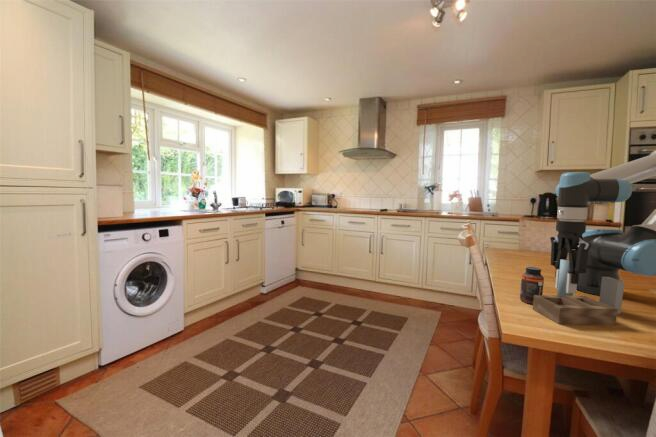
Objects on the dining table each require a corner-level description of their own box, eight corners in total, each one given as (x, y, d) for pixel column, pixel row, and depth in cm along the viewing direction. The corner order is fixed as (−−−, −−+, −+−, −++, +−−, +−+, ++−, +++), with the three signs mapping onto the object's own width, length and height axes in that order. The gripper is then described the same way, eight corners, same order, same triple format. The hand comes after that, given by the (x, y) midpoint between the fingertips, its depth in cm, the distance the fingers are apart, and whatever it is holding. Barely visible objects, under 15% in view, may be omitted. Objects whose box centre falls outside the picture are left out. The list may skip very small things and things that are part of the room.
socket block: (583, 310, 91) (585, 296, 91) (615, 324, 82) (617, 308, 81) (532, 309, 91) (533, 295, 91) (558, 323, 81) (560, 307, 81)
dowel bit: (565, 296, 101) (568, 259, 100) (575, 301, 97) (579, 261, 96) (554, 296, 101) (557, 259, 100) (563, 300, 97) (567, 261, 96)
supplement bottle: (545, 306, 94) (548, 271, 93) (524, 304, 95) (527, 269, 94) (536, 299, 100) (539, 266, 99) (516, 297, 101) (519, 265, 100)
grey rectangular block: (604, 307, 94) (608, 276, 93) (620, 314, 89) (624, 281, 88) (598, 307, 94) (602, 276, 93) (614, 314, 89) (617, 281, 88)
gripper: (540, 217, 105) (535, 282, 107) (582, 222, 88) (575, 299, 91) (561, 218, 105) (556, 282, 108) (607, 223, 89) (600, 299, 91)
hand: (565, 290), depth 99 cm, fingers closed on dowel bit, 4 cm apart
